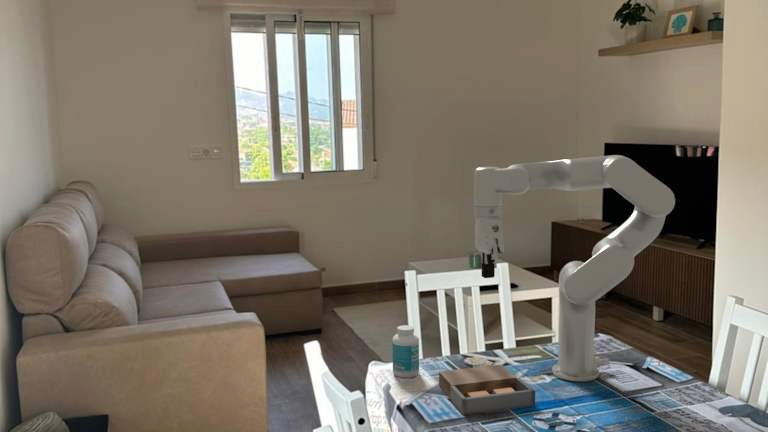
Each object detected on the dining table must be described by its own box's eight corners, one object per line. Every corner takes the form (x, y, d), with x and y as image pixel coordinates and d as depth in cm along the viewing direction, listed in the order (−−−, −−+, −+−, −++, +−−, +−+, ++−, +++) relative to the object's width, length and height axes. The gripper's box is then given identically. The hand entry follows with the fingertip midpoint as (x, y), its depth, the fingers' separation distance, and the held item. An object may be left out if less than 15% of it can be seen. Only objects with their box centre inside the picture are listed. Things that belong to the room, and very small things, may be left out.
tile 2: (519, 394, 173) (519, 402, 173) (511, 387, 177) (511, 394, 178) (500, 397, 171) (500, 404, 172) (492, 389, 176) (492, 397, 176)
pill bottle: (417, 379, 191) (416, 332, 189) (390, 378, 192) (389, 331, 190) (421, 369, 198) (420, 324, 196) (395, 368, 199) (394, 323, 197)
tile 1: (493, 398, 171) (493, 405, 171) (485, 390, 176) (485, 398, 176) (474, 400, 170) (474, 408, 170) (467, 392, 174) (467, 400, 175)
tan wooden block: (501, 378, 190) (501, 364, 190) (517, 392, 181) (517, 377, 180) (439, 385, 186) (439, 371, 185) (452, 400, 176) (451, 385, 176)
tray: (519, 392, 181) (519, 377, 180) (535, 405, 172) (535, 390, 172) (450, 400, 176) (450, 385, 175) (463, 415, 167) (463, 399, 167)
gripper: (512, 214, 184) (512, 282, 187) (489, 207, 198) (489, 270, 201) (486, 216, 182) (486, 284, 185) (465, 209, 196) (465, 272, 199)
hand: (488, 277), depth 193 cm, fingers closed
